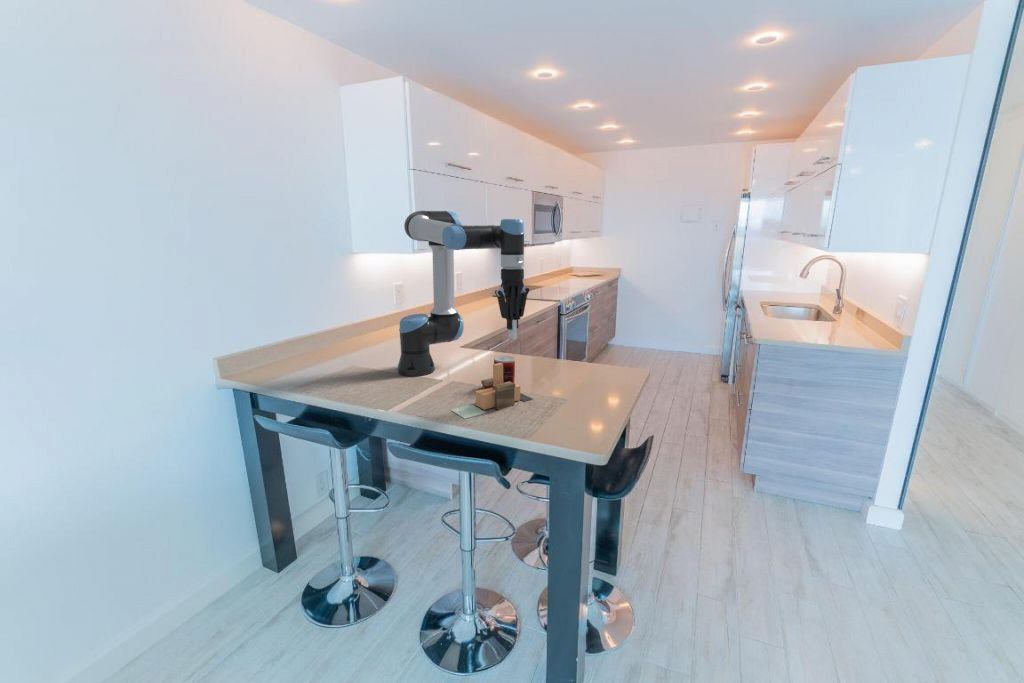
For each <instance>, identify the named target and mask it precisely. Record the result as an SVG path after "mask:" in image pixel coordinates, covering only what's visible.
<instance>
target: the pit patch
mask: <svg viewBox="0 0 1024 683" xmlns="http://www.w3.org/2000/svg"><path fill="white" fill-rule="evenodd" d="M532 400H533V398H532V397H530V396H529V395H526V394H524V393H521V392H520V400H519V401H521V402H524V403H525V402H528V401H532Z"/></svg>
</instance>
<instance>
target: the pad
mask: <svg viewBox="0 0 1024 683" xmlns="http://www.w3.org/2000/svg"><path fill="white" fill-rule="evenodd" d="M450 411H451V412H453V413H454V414H456V415H458V416H459V417H460V418H461V417H462V418H463V419H464V420H467V419H469V418H473V417H478V416H482V415H484V414H487V412H486V411H485V410H484V409H482V408H480V407H478V406H476V405H473V404H472V403H471V404H468V405H467V404H466V405H464V406H460V407H457V408H456V407H455V408H451V409H450Z"/></svg>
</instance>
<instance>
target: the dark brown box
mask: <svg viewBox="0 0 1024 683" xmlns="http://www.w3.org/2000/svg"><path fill="white" fill-rule="evenodd" d="M503 382H504V379H503ZM480 384H482V389H486V388H490V387H493V389H494V390H495V407H494V408H495V410H502V409H505V407H506V408H509V407H512V406H515V401H514V388H515V384H516V383H515V384H514V383H512V382H510V381H509V382H505V383H501V384H497V385H493V377H490V378H489V377H488V378H486V379H482V380H481V383H480ZM482 389H481V390H482Z"/></svg>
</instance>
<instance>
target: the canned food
mask: <svg viewBox="0 0 1024 683" xmlns="http://www.w3.org/2000/svg"><path fill="white" fill-rule="evenodd" d="M497 363H502V364H503V379H504V382H503V383H505V382H509V381H510V382H512V383H514V384H516V383H515V380H516V379H515V377H516V376H515V373H516V369H515V368H516V366H515V365H516V362H515V357H513V356H509V355H499V356H495V357H494V359H493V364H497Z"/></svg>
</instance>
